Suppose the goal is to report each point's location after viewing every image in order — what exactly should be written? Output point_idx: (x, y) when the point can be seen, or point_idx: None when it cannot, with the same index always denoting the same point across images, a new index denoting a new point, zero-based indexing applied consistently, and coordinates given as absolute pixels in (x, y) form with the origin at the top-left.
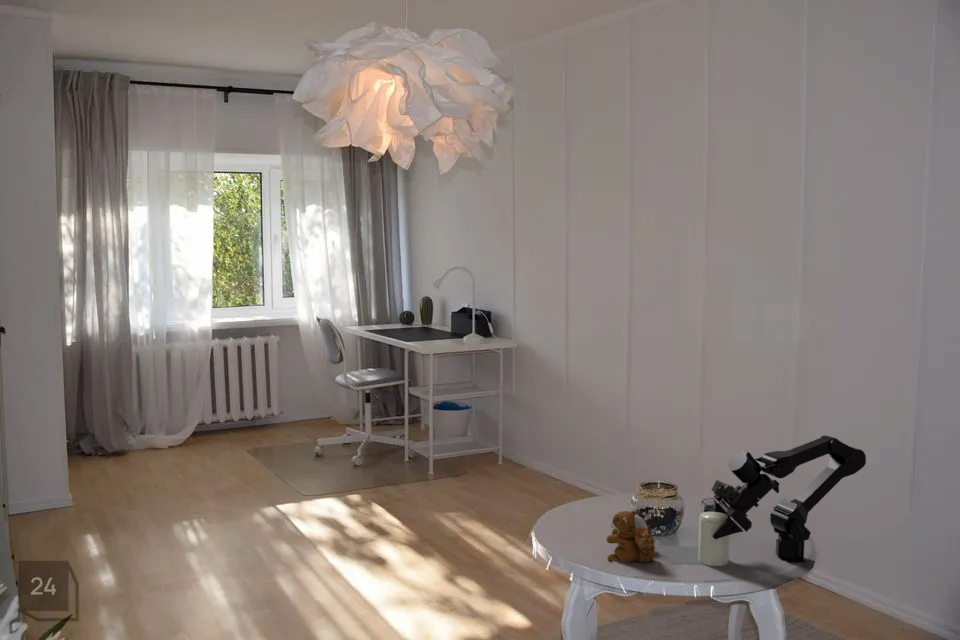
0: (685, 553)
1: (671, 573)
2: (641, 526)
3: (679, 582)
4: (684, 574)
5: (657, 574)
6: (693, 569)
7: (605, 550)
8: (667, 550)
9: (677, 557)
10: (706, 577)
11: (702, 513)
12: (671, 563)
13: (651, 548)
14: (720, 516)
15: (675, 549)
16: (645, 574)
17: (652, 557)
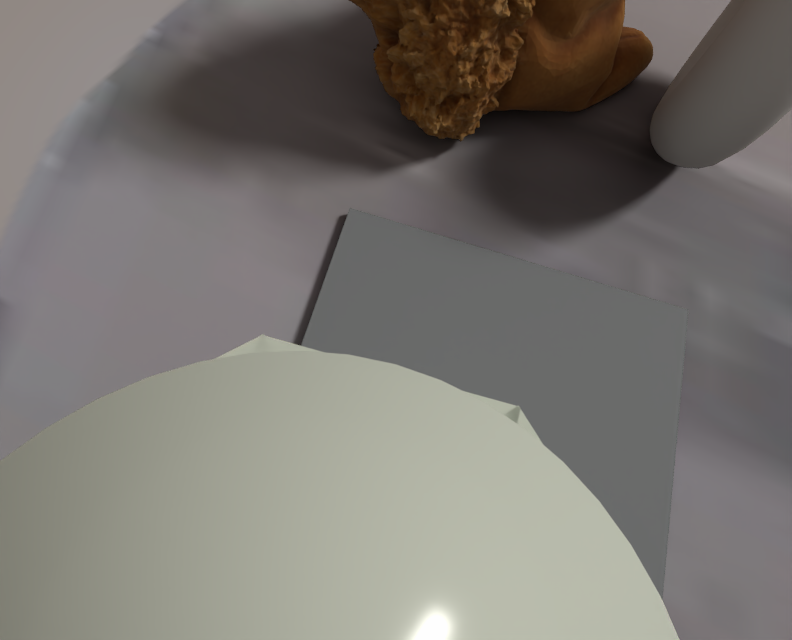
0: (526, 407)
1: (210, 166)
2: (738, 21)
3: (49, 144)
4: (165, 232)
5: (221, 88)
6: (232, 332)
7: (640, 4)
8: (598, 306)
9: (453, 312)
10: (54, 349)
11: (556, 503)
12: (350, 223)
13: (369, 14)
14: None
15: (616, 371)
16: (242, 33)
17: (402, 105)
